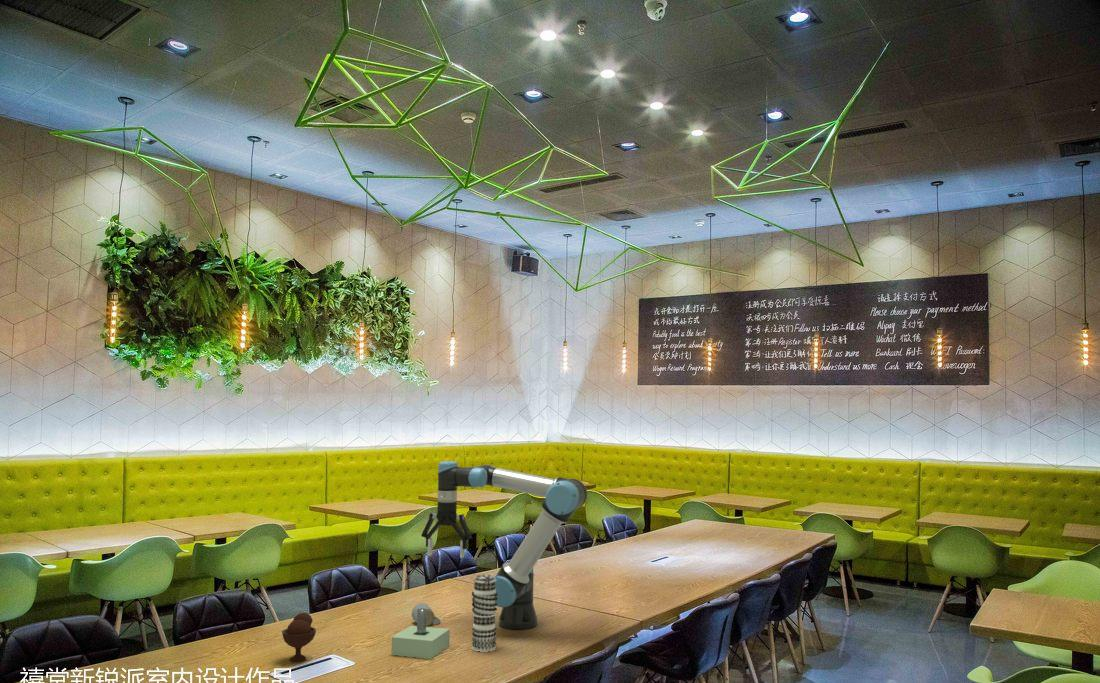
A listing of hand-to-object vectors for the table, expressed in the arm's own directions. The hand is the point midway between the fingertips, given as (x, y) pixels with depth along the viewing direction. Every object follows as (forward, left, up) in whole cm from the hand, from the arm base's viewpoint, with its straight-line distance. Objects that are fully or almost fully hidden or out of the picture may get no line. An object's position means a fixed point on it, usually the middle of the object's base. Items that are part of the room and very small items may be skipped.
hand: (446, 556), depth 301 cm
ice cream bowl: (+31, +51, -27) cm, 65 cm away
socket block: (-4, +30, -27) cm, 40 cm away
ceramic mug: (+8, -1, -27) cm, 28 cm away
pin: (-4, +30, -27) cm, 40 cm away
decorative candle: (-24, +21, -27) cm, 42 cm away
